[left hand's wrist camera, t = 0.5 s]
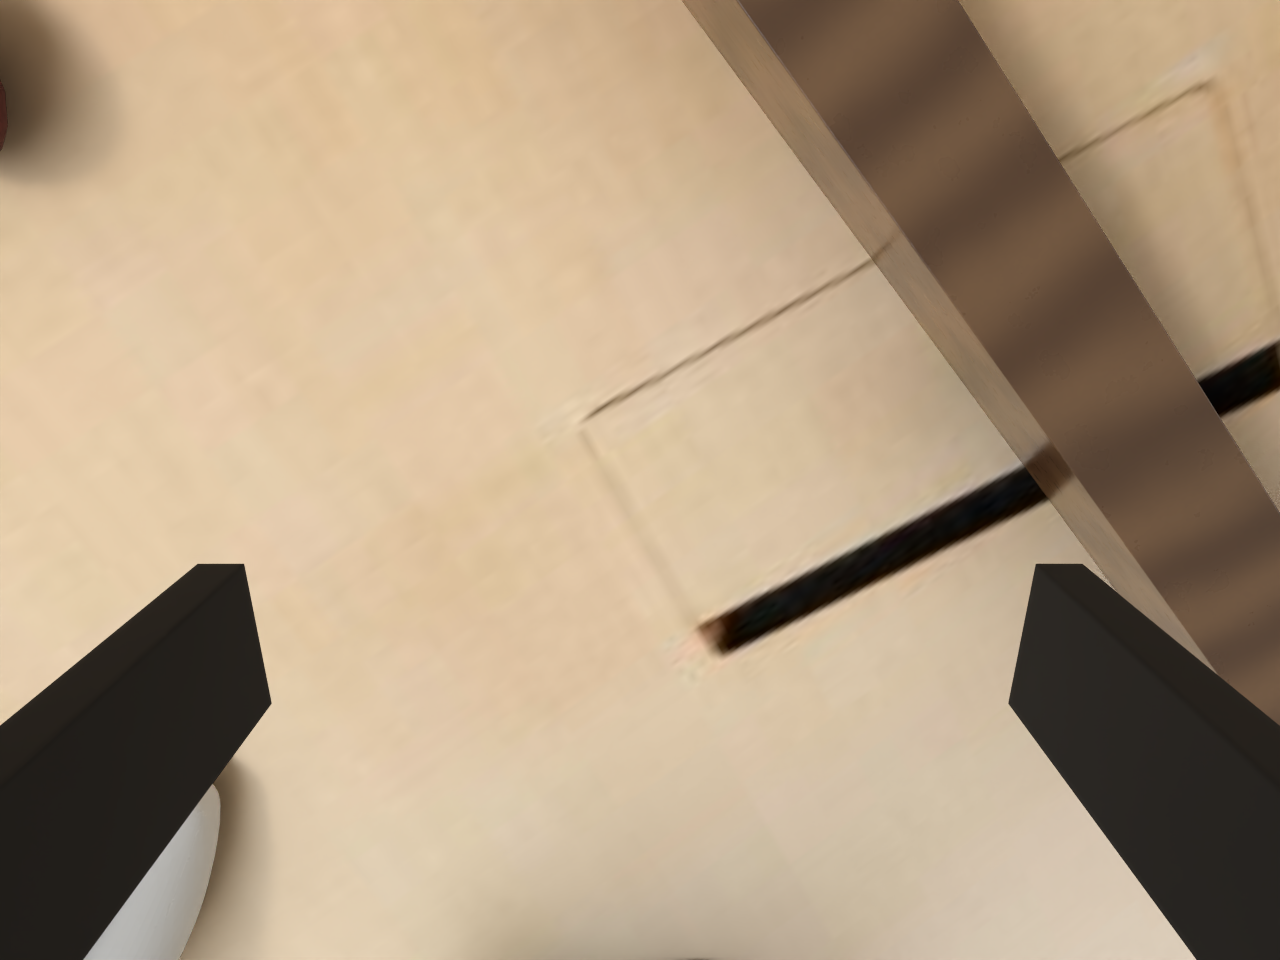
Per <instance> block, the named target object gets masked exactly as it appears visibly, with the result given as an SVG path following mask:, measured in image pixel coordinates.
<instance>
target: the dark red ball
mask: <svg viewBox="0 0 1280 960" xmlns="http://www.w3.org/2000/svg"><path fill="white" fill-rule="evenodd" d="M7 127H8V122H7V110H6V98H5V90H4V88H3V85H2V83H1V81H0V151H1V149H2V147H3V143H4V139H5V135H6V131H7Z"/></svg>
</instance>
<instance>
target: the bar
mask: <svg viewBox="0 0 1280 960" xmlns="http://www.w3.org/2000/svg"><path fill="white" fill-rule="evenodd" d="M682 1H683V3H684V4H685V5H686V7H687V8H688V9H689V11H690V12H691V13H692V15H693V16H694V18H695V19H696V20H697V22H698V23H699V24H700V26H701V27H702V28H703V30H704V31H705V33H706V34H707V35H708V37H709V38H710V39H711V41H712V42H713V43H714V45H715V46H716V47H717V49H718V50H719V52H720V53H721V54H722V56H723V57H724V58H725V60H726V61H727V62H728V64H729V65H730V66H731V68H732V69H733V71H734V72H735V73H736V75H737V76H738V77H739V79H740V80H741V81H742V83H743V84H744V86H745V87H746V88H747V90H748V91H749V92H750V94H751V95H752V96H753V98H754V99H755V100H756V102H757V103H758V105H759V106H760V107H761V109H762V110H763V111H764V113H765V114H766V115H767V117H768V118H769V120H770V121H771V122H772V124H773V125H774V126H775V128H776V129H777V130H778V132H779V133H780V134H781V136H782V137H783V139H784V140H785V141H786V143H787V144H788V145H789V147H790V148H791V149H792V151H793V152H794V154H795V155H796V156H797V158H798V159H799V160H800V162H801V163H802V164H803V166H804V167H805V168H806V170H807V171H808V173H809V174H810V175H811V177H812V178H813V179H814V181H815V182H816V183H817V185H818V186H819V187H820V189H821V190H822V192H823V193H824V194H825V196H826V197H827V198H828V200H829V201H830V202H831V204H832V205H833V207H834V208H835V209H836V211H837V212H838V213H839V215H840V216H841V217H842V219H843V220H844V221H845V223H846V224H847V226H848V227H849V228H850V230H851V231H852V232H853V234H854V235H855V236H856V238H857V239H858V241H859V242H860V243H861V245H862V246H863V247H864V249H865V250H866V251H867V253H868V254H869V255H870V257H871V258H872V260H873V261H874V262H875V264H876V265H877V266H878V268H879V269H880V270H881V272H882V273H883V274H884V276H885V277H886V279H887V280H888V281H889V283H890V284H891V285H892V287H893V288H894V289H895V291H896V292H897V294H898V295H899V296H900V298H901V299H902V300H903V302H904V303H905V304H906V306H907V307H908V308H909V310H910V311H911V313H912V314H913V315H914V317H915V318H916V319H917V321H918V322H919V323H920V325H921V326H922V328H923V329H924V330H925V332H926V333H927V334H928V336H929V337H930V338H931V340H932V341H933V342H934V344H935V345H936V347H937V348H938V349H939V351H940V352H941V353H942V355H943V356H944V357H945V359H946V360H947V362H948V363H949V364H950V366H951V367H952V368H953V370H954V371H955V372H956V374H957V375H958V376H959V378H960V379H961V381H962V382H963V383H964V385H965V386H966V387H967V389H968V390H969V391H970V393H971V394H972V395H973V397H974V398H975V400H976V401H977V402H978V404H979V405H980V406H981V408H982V409H983V410H984V412H985V413H986V415H987V416H988V417H989V419H990V420H991V421H992V423H993V424H994V425H995V427H996V428H997V429H998V431H999V432H1000V434H1001V435H1002V436H1003V438H1004V439H1005V440H1006V442H1007V443H1008V444H1009V446H1010V447H1011V449H1012V450H1013V451H1014V453H1015V454H1016V455H1017V457H1018V458H1019V459H1020V461H1021V462H1022V463H1023V465H1024V466H1025V468H1026V469H1027V470H1028V472H1029V473H1030V474H1031V476H1032V477H1033V478H1034V480H1035V481H1036V482H1037V484H1038V485H1039V487H1040V488H1041V489H1042V491H1043V492H1044V493H1045V495H1046V496H1047V497H1048V499H1049V500H1050V502H1051V503H1052V504H1053V506H1054V507H1055V508H1056V510H1057V511H1058V512H1059V514H1060V515H1061V516H1062V518H1063V519H1064V521H1065V522H1066V523H1067V525H1068V526H1069V527H1070V529H1071V530H1072V531H1073V533H1074V534H1075V536H1076V537H1077V538H1078V540H1079V541H1080V542H1081V544H1082V545H1083V546H1084V548H1085V549H1086V550H1087V552H1088V553H1089V555H1090V556H1091V557H1092V559H1093V560H1094V561H1095V563H1096V564H1097V565H1098V567H1099V568H1100V570H1101V571H1102V572H1103V574H1104V575H1105V576H1106V578H1107V579H1108V580H1109V582H1110V583H1111V584H1112V586H1113V587H1114V589H1115V590H1116V591H1117V593H1118V594H1120V595H1121V596H1122V597H1123V598H1124V599H1126V600H1127V601H1128V602H1129V603H1131V604H1132V605H1133V606H1134V607H1135V608H1137V609H1138V610H1139V611H1140V612H1142V613H1143V614H1144V615H1145V616H1146V617H1148V618H1149V619H1150V620H1151V621H1153V622H1154V623H1155V624H1156V625H1157V626H1159V627H1160V628H1161V629H1162V630H1164V631H1165V632H1166V633H1167V634H1168V635H1170V636H1171V637H1172V638H1173V639H1175V640H1176V641H1177V642H1178V643H1179V644H1181V645H1182V646H1183V647H1184V648H1186V649H1187V650H1188V651H1189V652H1190V653H1192V654H1193V655H1194V656H1195V657H1196V658H1198V659H1199V660H1200V661H1201V662H1203V663H1204V664H1205V665H1206V666H1207V667H1209V668H1210V669H1211V670H1212V671H1214V672H1215V673H1216V674H1217V675H1218V676H1220V677H1221V678H1222V679H1223V680H1225V681H1226V682H1227V683H1228V684H1229V685H1231V686H1232V687H1233V688H1234V689H1236V690H1237V691H1238V692H1239V693H1240V694H1242V695H1243V696H1244V697H1245V698H1247V699H1248V700H1249V701H1250V702H1251V703H1253V704H1254V705H1255V706H1256V707H1258V708H1259V709H1260V710H1261V711H1262V712H1264V713H1265V714H1266V715H1267V716H1269V717H1270V718H1271V719H1272V720H1273V721H1275V722H1276V723H1277V724H1278V725H1280V513H1279V511H1278V509H1277V508H1276V506H1275V505H1274V503H1273V501H1272V500H1271V498H1270V497H1269V495H1268V494H1267V492H1266V490H1265V489H1264V487H1263V486H1262V484H1261V482H1260V481H1259V479H1258V478H1257V476H1256V474H1255V473H1254V471H1253V470H1252V468H1251V466H1250V465H1249V463H1248V462H1247V460H1246V458H1245V457H1244V455H1243V454H1242V452H1241V451H1240V449H1239V447H1238V446H1237V444H1236V443H1235V441H1234V439H1233V438H1232V436H1231V435H1230V433H1229V431H1228V430H1227V428H1226V427H1225V425H1224V423H1223V422H1222V420H1221V419H1220V417H1219V415H1218V414H1217V412H1216V411H1215V409H1214V407H1213V406H1212V404H1211V403H1210V401H1209V400H1208V398H1207V396H1206V395H1205V393H1204V392H1203V390H1202V388H1201V387H1200V385H1199V384H1198V382H1197V380H1196V379H1195V377H1194V376H1193V374H1192V372H1191V371H1190V369H1189V368H1188V366H1187V364H1186V363H1185V361H1184V360H1183V358H1182V357H1181V355H1180V353H1179V352H1178V350H1177V349H1176V347H1175V345H1174V344H1173V342H1172V341H1171V339H1170V337H1169V336H1168V334H1167V333H1166V331H1165V329H1164V328H1163V326H1162V325H1161V323H1160V321H1159V320H1158V318H1157V317H1156V315H1155V313H1154V312H1153V310H1152V309H1151V307H1150V306H1149V304H1148V302H1147V301H1146V299H1145V298H1144V296H1143V294H1142V293H1141V291H1140V290H1139V288H1138V286H1137V285H1136V283H1135V282H1134V280H1133V278H1132V277H1131V275H1130V274H1129V272H1128V270H1127V269H1126V267H1125V266H1124V264H1123V262H1122V261H1121V259H1120V258H1119V256H1118V255H1117V253H1116V251H1115V250H1114V248H1113V247H1112V245H1111V243H1110V242H1109V240H1108V239H1107V237H1106V235H1105V234H1104V232H1103V231H1102V229H1101V227H1100V226H1099V224H1098V223H1097V221H1096V219H1095V218H1094V216H1093V215H1092V213H1091V212H1090V210H1089V208H1088V207H1087V205H1086V204H1085V202H1084V200H1083V199H1082V197H1081V196H1080V194H1079V192H1078V191H1077V189H1076V188H1075V186H1074V184H1073V183H1072V181H1071V180H1070V178H1069V176H1068V175H1067V173H1066V172H1065V170H1064V168H1063V167H1062V165H1061V164H1060V162H1059V161H1058V159H1057V157H1056V156H1055V154H1054V153H1053V151H1052V149H1051V148H1050V146H1049V145H1048V143H1047V141H1046V140H1045V138H1044V137H1043V135H1042V133H1041V132H1040V130H1039V129H1038V127H1037V125H1036V124H1035V122H1034V121H1033V119H1032V117H1031V116H1030V114H1029V113H1028V111H1027V110H1026V108H1025V106H1024V105H1023V103H1022V102H1021V100H1020V98H1019V97H1018V95H1017V94H1016V92H1015V90H1014V89H1013V87H1012V86H1011V84H1010V82H1009V81H1008V79H1007V78H1006V76H1005V74H1004V73H1003V71H1002V70H1001V68H1000V67H999V65H998V63H997V62H996V60H995V59H994V57H993V55H992V54H991V52H990V51H989V49H988V47H987V46H986V44H985V43H984V41H983V39H982V38H981V36H980V35H979V33H978V31H977V30H976V28H975V27H974V25H973V23H972V22H971V20H970V19H969V17H968V16H967V14H966V12H965V11H964V9H963V8H962V6H961V4H960V3H959V1H958V0H682Z"/></svg>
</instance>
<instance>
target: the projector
mask: <svg viewBox="0 0 1280 960" xmlns="http://www.w3.org/2000/svg"><path fill="white" fill-rule="evenodd" d="M220 806H221V804H220V797H219V793H218V791H217V789H216V788H215V786H214V785H213V784H212V785H211V787H210V788H209V789H208V791H207V792H206V793H205V795H204V796H203V798H202V799H201V800H200V802H199V803H198V804H197V806H196V807H195V808H194V810H193V811H192V813H191V814H190V815H189V817H188V818H187V819H186V821H185V822H184V823H183V825H182V826H181V827H180V829H179V830H178V832H177V833H176V834H175V836H174V837H173V838H172V840H171V841H170V842H169V844H168V845H167V847H166V848H165V849H164V851H163V852H162V853H161V855H160V856H159V857H158V859H157V860H156V862H155V863H154V864H153V866H152V867H151V868H150V870H149V871H148V872H147V874H146V875H145V876H144V878H143V879H142V881H141V882H140V883H139V885H138V886H137V887H136V889H135V890H134V891H133V893H132V894H131V896H130V897H129V898H128V900H127V901H126V902H125V904H124V905H123V906H122V908H121V909H120V911H119V912H118V913H117V915H116V916H115V917H114V919H113V920H112V921H111V923H110V924H109V926H108V927H107V928H106V930H105V931H104V932H103V934H102V935H101V936H100V938H99V939H98V940H97V942H96V943H95V945H94V946H93V947H92V949H91V950H90V951H89V953H88V954H87V955H86V957H85V958H84V960H179V958H180V956H181V954H182V952H183V950H184V948H185V946H186V944H187V941H188V939H189V937H190V934H191V932H192V930H193V927H194V925H195V923H196V920H197V917H198V915H199V912H200V909H201V906H202V903H203V900H204V897H205V893H206V890H207V886H208V883H209V879H210V875H211V870H212V866H213V862H214V857H215V852H216V847H217V841H218V833H219V826H220Z"/></svg>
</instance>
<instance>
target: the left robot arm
mask: <svg viewBox="0 0 1280 960" xmlns="http://www.w3.org/2000/svg"><path fill="white" fill-rule="evenodd" d="M271 704H272V703H271V698H270V693H269V688H268V683H267V678H266V673H265V668H264V663H263V657H262V652H261V647H260V642H259V637H258V632H257V627H256V622H255V617H254V612H253V607H252V602H251V597H250V592H249V587H248V582H247V576H246V571H245V566H244V564H197V565H196V566H195V567H193V568H192V569H191V570H190V571H189V572H187V573H186V574H185V575H184V576H182V577H181V578H180V579H179V580H178V581H176V582H175V583H174V584H173V585H171V586H170V587H169V588H168V589H167V590H165V591H164V592H163V593H162V594H160V595H159V596H158V597H157V598H156V599H154V600H153V601H152V602H151V603H149V604H148V605H147V606H146V607H145V608H143V609H142V610H141V611H140V612H138V613H137V614H136V615H135V616H134V617H132V618H131V619H130V620H129V621H127V622H126V623H125V624H124V625H123V626H121V627H120V628H119V629H118V630H116V631H115V632H114V633H113V634H112V635H110V636H109V637H108V638H107V639H105V640H104V641H103V642H102V643H101V644H99V645H98V646H97V647H96V648H94V649H93V650H92V651H91V652H90V653H88V654H87V655H86V656H85V657H84V658H82V659H81V660H80V661H79V662H77V663H76V664H75V665H74V666H73V667H71V668H70V669H69V670H68V671H66V672H65V673H64V674H63V675H62V676H60V677H59V678H58V679H57V680H55V681H54V682H53V683H52V684H51V685H49V686H48V687H47V688H46V689H44V690H43V691H42V692H41V693H40V694H38V695H37V696H36V697H35V698H33V699H32V700H31V701H30V702H29V703H27V704H26V705H25V706H24V707H22V708H21V709H20V710H19V711H18V712H16V713H15V714H14V715H13V716H11V717H10V718H9V719H8V720H7V721H5V722H4V723H3V724H2V725H0V960H84V958H85V957H86V955H87V954H88V953H89V951H90V950H91V949H92V947H93V946H94V945H95V943H96V942H97V940H98V939H99V938H100V936H101V935H102V934H103V932H104V931H105V930H106V928H107V927H108V926H109V924H110V923H111V921H112V920H113V919H114V917H115V916H116V915H117V913H118V912H119V911H120V909H121V908H122V906H123V905H124V904H125V902H126V901H127V900H128V898H129V897H130V896H131V894H132V893H133V891H134V890H135V889H136V887H137V886H138V885H139V883H140V882H141V881H142V879H143V878H144V876H145V875H146V874H147V872H148V871H149V870H150V868H151V867H152V866H153V864H154V863H155V862H156V860H157V859H158V857H159V856H160V855H161V853H162V852H163V851H164V849H165V848H166V847H167V845H168V844H169V842H170V841H171V840H172V838H173V837H174V836H175V834H176V833H177V832H178V830H179V829H180V827H181V826H182V825H183V823H184V822H185V821H186V819H187V818H188V817H189V815H190V814H191V813H192V811H193V810H194V808H195V807H196V806H197V804H198V803H199V802H200V800H201V799H202V798H203V796H204V795H205V793H206V792H207V791H208V789H209V788H210V787H211V785H212V784H213V783H214V781H215V780H216V778H217V777H218V776H219V774H220V773H221V772H222V770H223V769H224V768H225V766H226V765H227V763H228V762H229V761H230V759H231V758H232V757H233V755H234V754H235V753H236V751H237V750H238V749H239V747H240V746H241V744H242V743H243V742H244V740H245V739H246V738H247V736H248V735H249V734H250V732H251V731H252V729H253V728H254V727H255V725H256V724H257V723H258V721H259V720H260V719H261V717H262V716H263V714H264V713H265V712H266V710H267V709H268V708H269V706H270V705H271ZM1008 704H1009V705H1010V706H1011V708H1012V709H1013V710H1014V712H1015V713H1016V714H1017V716H1018V717H1019V719H1020V720H1021V721H1022V723H1023V724H1024V725H1025V727H1026V728H1027V729H1028V731H1029V732H1030V734H1031V735H1032V736H1033V738H1034V739H1035V740H1036V742H1037V743H1038V744H1039V746H1040V747H1041V749H1042V750H1043V751H1044V753H1045V754H1046V755H1047V757H1048V758H1049V759H1050V761H1051V762H1052V763H1053V765H1054V766H1055V768H1056V769H1057V770H1058V772H1059V773H1060V774H1061V776H1062V777H1063V778H1064V780H1065V781H1066V783H1067V784H1068V785H1069V787H1070V788H1071V789H1072V791H1073V792H1074V793H1075V795H1076V796H1077V798H1078V799H1079V800H1080V802H1081V803H1082V804H1083V806H1084V807H1085V808H1086V810H1087V811H1088V813H1089V814H1090V815H1091V817H1092V818H1093V819H1094V821H1095V822H1096V823H1097V825H1098V826H1099V827H1100V829H1101V830H1102V832H1103V833H1104V834H1105V836H1106V837H1107V838H1108V840H1109V841H1110V842H1111V844H1112V845H1113V847H1114V848H1115V849H1116V851H1117V852H1118V853H1119V855H1120V856H1121V857H1122V859H1123V860H1124V862H1125V863H1126V864H1127V866H1128V867H1129V868H1130V870H1131V871H1132V872H1133V874H1134V875H1135V876H1136V878H1137V879H1138V881H1139V882H1140V883H1141V885H1142V886H1143V887H1144V889H1145V890H1146V891H1147V893H1148V894H1149V896H1150V897H1151V898H1152V900H1153V901H1154V902H1155V904H1156V905H1157V906H1158V908H1159V909H1160V911H1161V912H1162V913H1163V915H1164V916H1165V917H1166V919H1167V920H1168V921H1169V923H1170V924H1171V926H1172V927H1173V928H1174V930H1175V931H1176V932H1177V934H1178V935H1179V936H1180V938H1181V939H1182V940H1183V942H1184V943H1185V945H1186V946H1187V947H1188V949H1189V950H1190V951H1191V953H1192V954H1193V955H1194V957H1195V958H1196V960H1280V725H1278V724H1277V723H1276V722H1275V721H1273V720H1272V719H1271V718H1270V717H1269V716H1267V715H1266V714H1265V713H1264V712H1262V711H1261V710H1260V709H1259V708H1258V707H1256V706H1255V705H1254V704H1253V703H1251V702H1250V701H1249V700H1248V699H1247V698H1245V697H1244V696H1243V695H1242V694H1240V693H1239V692H1238V691H1237V690H1236V689H1234V688H1233V687H1232V686H1231V685H1229V684H1228V683H1227V682H1226V681H1225V680H1223V679H1222V678H1221V677H1220V676H1218V675H1217V674H1216V673H1215V672H1214V671H1212V670H1211V669H1210V668H1209V667H1207V666H1206V665H1205V664H1204V663H1203V662H1201V661H1200V660H1199V659H1198V658H1196V657H1195V656H1194V655H1193V654H1192V653H1190V652H1189V651H1188V650H1187V649H1186V648H1184V647H1183V646H1182V645H1181V644H1179V643H1178V642H1177V641H1176V640H1175V639H1173V638H1172V637H1171V636H1170V635H1168V634H1167V633H1166V632H1165V631H1164V630H1162V629H1161V628H1160V627H1159V626H1157V625H1156V624H1155V623H1154V622H1153V621H1151V620H1150V619H1149V618H1148V617H1146V616H1145V615H1144V614H1143V613H1142V612H1140V611H1139V610H1138V609H1137V608H1135V607H1134V606H1133V605H1132V604H1131V603H1129V602H1128V601H1127V600H1126V599H1124V598H1123V597H1122V596H1121V595H1120V594H1118V593H1117V592H1116V591H1115V590H1113V589H1112V588H1111V587H1110V586H1109V585H1107V584H1106V583H1105V582H1104V581H1102V580H1101V579H1100V578H1099V577H1098V576H1096V575H1095V574H1094V573H1093V572H1091V571H1090V570H1089V569H1088V568H1087V567H1085V566H1084V565H1083V564H1036V566H1035V571H1034V576H1033V582H1032V587H1031V592H1030V597H1029V602H1028V607H1027V612H1026V617H1025V622H1024V627H1023V632H1022V637H1021V642H1020V647H1019V652H1018V657H1017V663H1016V668H1015V673H1014V678H1013V683H1012V688H1011V693H1010V698H1009V703H1008Z"/></svg>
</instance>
